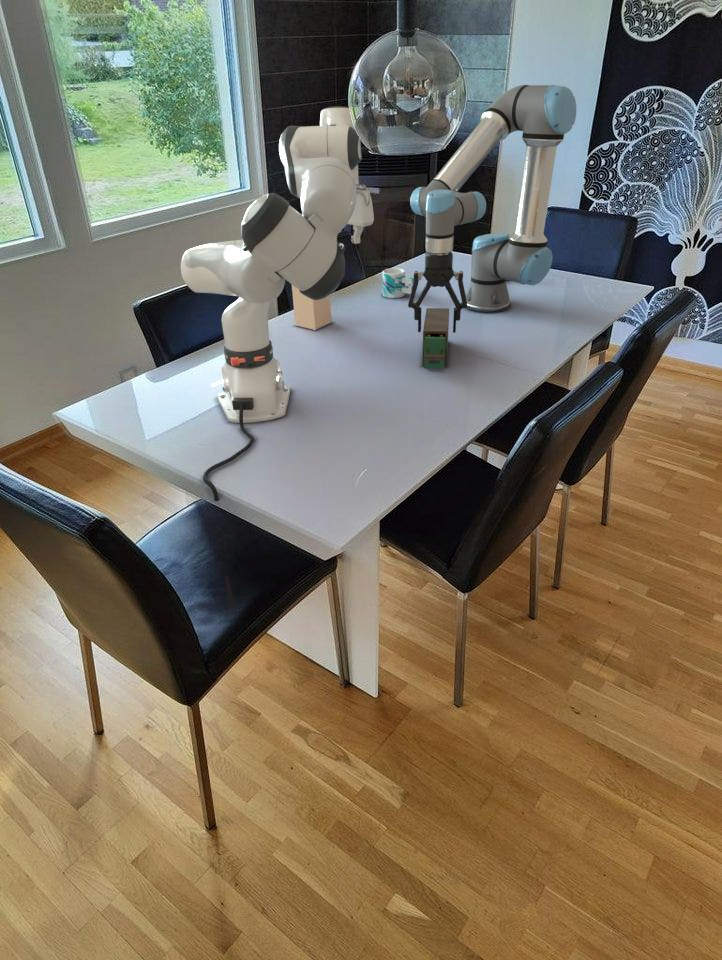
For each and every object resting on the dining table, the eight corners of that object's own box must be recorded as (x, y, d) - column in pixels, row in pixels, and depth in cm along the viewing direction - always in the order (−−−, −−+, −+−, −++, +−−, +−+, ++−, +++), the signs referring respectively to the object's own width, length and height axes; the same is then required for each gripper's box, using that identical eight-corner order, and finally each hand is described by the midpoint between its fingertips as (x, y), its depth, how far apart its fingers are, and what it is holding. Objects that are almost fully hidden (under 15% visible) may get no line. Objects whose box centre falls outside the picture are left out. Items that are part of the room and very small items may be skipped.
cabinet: (446, 367, 186) (447, 331, 180) (422, 366, 187) (423, 331, 181) (448, 342, 201) (449, 308, 196) (425, 341, 202) (426, 308, 196)
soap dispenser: (294, 325, 217) (288, 256, 206) (311, 317, 223) (306, 249, 211) (325, 332, 211) (320, 261, 199) (342, 324, 217) (338, 255, 205)
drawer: (443, 376, 179) (444, 345, 174) (423, 375, 179) (423, 345, 175) (445, 344, 197) (446, 316, 193) (427, 343, 198) (427, 315, 194)
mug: (390, 289, 246) (390, 266, 241) (419, 294, 240) (419, 270, 235) (378, 296, 240) (378, 272, 235) (407, 300, 234) (407, 277, 230)
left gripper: (378, 183, 159) (380, 244, 166) (325, 177, 172) (329, 233, 179) (358, 187, 155) (361, 248, 163) (305, 180, 169) (310, 237, 176)
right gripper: (479, 248, 185) (475, 326, 197) (399, 248, 187) (400, 325, 200) (480, 255, 178) (475, 336, 191) (397, 255, 181) (398, 334, 193)
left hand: (343, 240), depth 171 cm, fingers open, 8 cm apart
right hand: (436, 330), depth 195 cm, fingers open, 9 cm apart
